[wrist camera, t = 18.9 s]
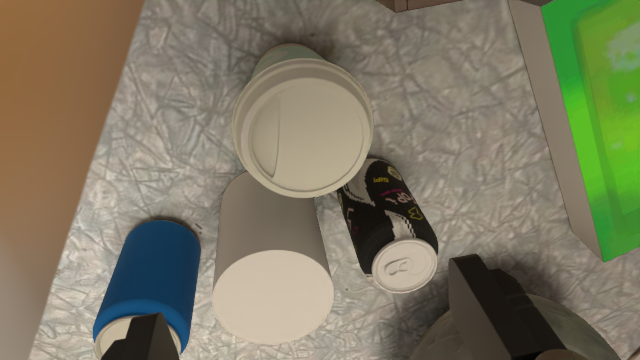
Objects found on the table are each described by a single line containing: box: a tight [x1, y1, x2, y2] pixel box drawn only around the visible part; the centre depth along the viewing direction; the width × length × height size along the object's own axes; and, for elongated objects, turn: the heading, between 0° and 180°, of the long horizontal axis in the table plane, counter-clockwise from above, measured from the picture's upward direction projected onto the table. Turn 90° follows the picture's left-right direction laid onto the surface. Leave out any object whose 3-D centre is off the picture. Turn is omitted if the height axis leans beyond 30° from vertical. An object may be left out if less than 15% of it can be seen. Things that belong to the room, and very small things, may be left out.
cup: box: [212, 171, 334, 345], centre depth 38 cm, size 8×8×12 cm
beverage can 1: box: [93, 220, 201, 360], centre depth 39 cm, size 6×6×12 cm
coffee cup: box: [231, 43, 374, 198], centre depth 33 cm, size 8×8×12 cm
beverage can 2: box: [337, 159, 438, 293], centre depth 39 cm, size 6×6×12 cm
